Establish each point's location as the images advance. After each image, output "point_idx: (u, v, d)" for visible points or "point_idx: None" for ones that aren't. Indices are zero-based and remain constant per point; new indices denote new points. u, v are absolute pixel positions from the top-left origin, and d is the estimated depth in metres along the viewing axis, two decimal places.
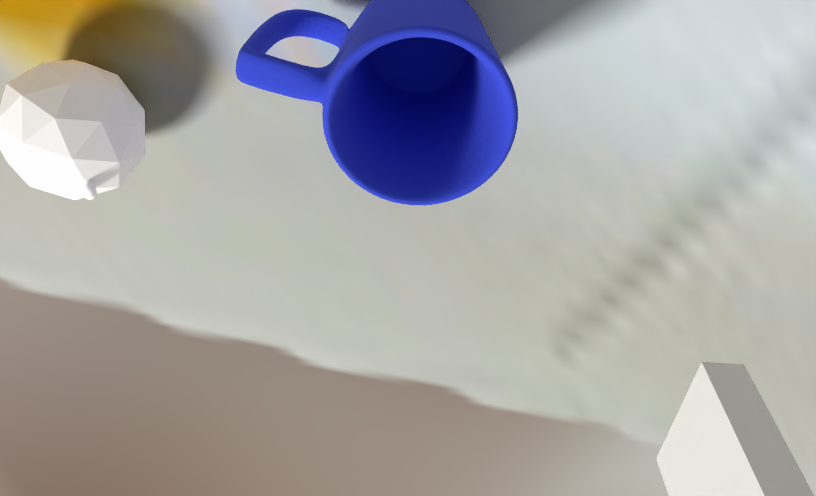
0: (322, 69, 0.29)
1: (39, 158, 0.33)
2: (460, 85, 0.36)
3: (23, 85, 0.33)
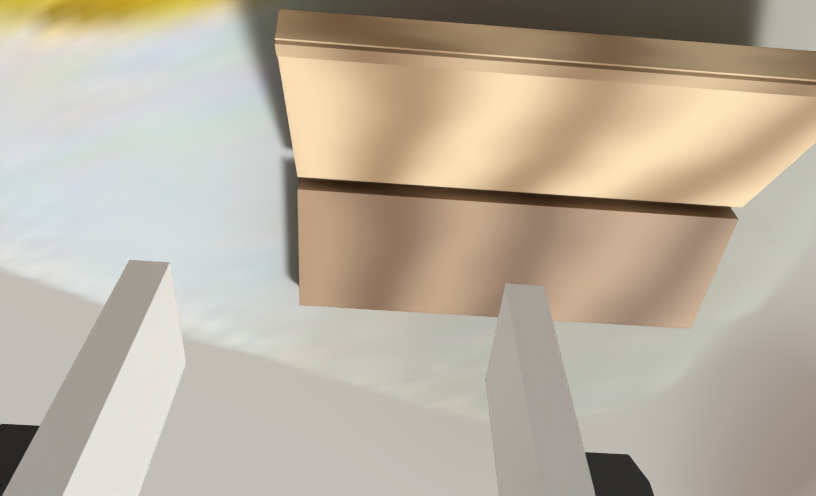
0: None
1: None
2: None
3: None
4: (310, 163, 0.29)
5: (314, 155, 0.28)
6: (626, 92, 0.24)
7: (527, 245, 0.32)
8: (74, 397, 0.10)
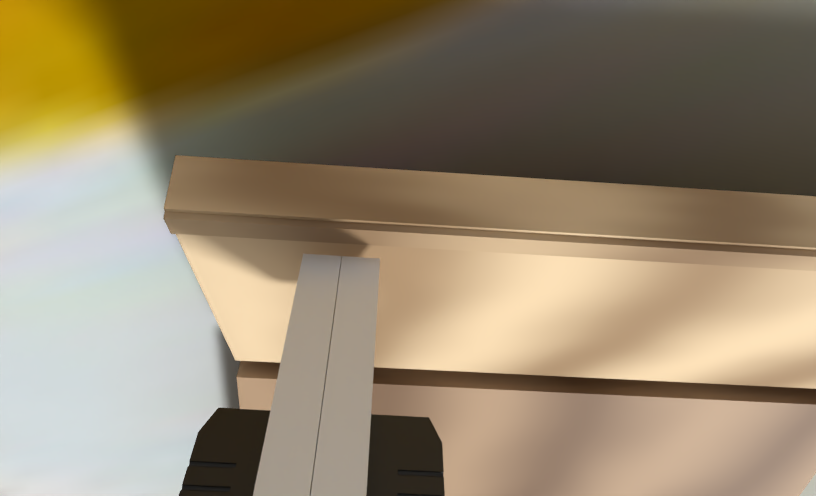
0: None
1: None
2: None
3: None
4: (251, 348, 0.20)
5: (256, 340, 0.19)
6: (748, 275, 0.15)
7: (564, 438, 0.23)
8: (294, 382, 0.11)
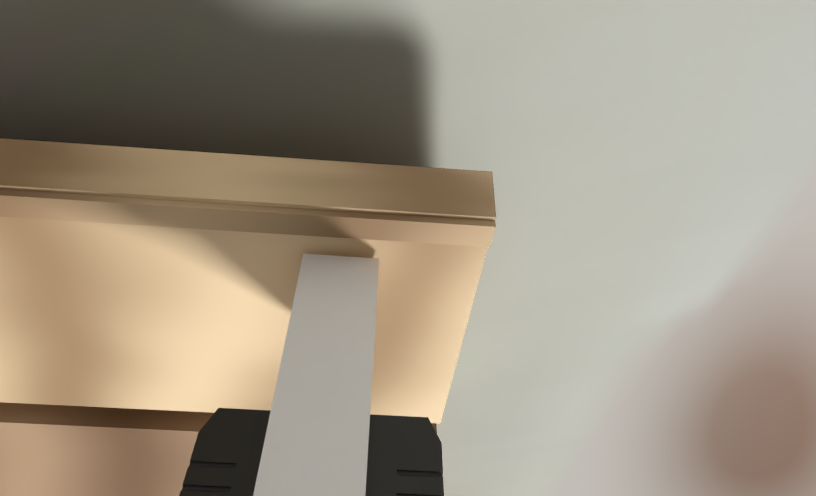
0: None
1: None
2: None
3: None
4: None
5: None
6: (73, 237, 0.13)
7: (129, 474, 0.21)
8: (294, 382, 0.11)
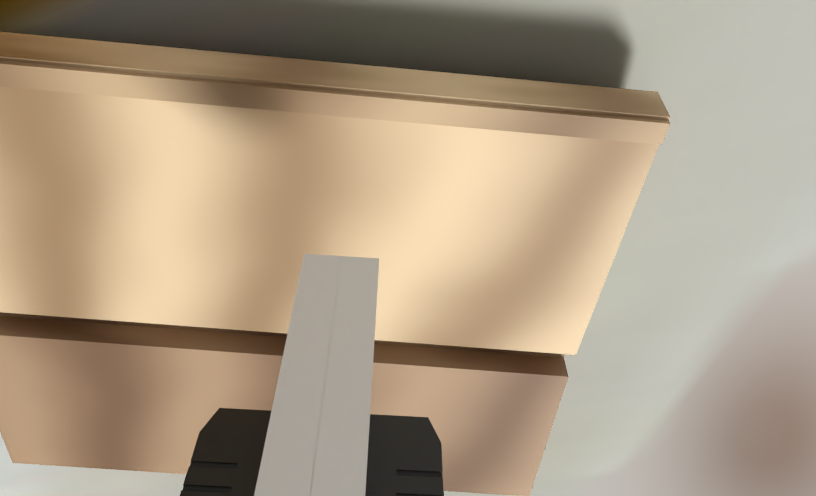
0: None
1: None
2: None
3: None
4: None
5: None
6: (331, 136, 0.17)
7: None
8: (295, 382, 0.11)
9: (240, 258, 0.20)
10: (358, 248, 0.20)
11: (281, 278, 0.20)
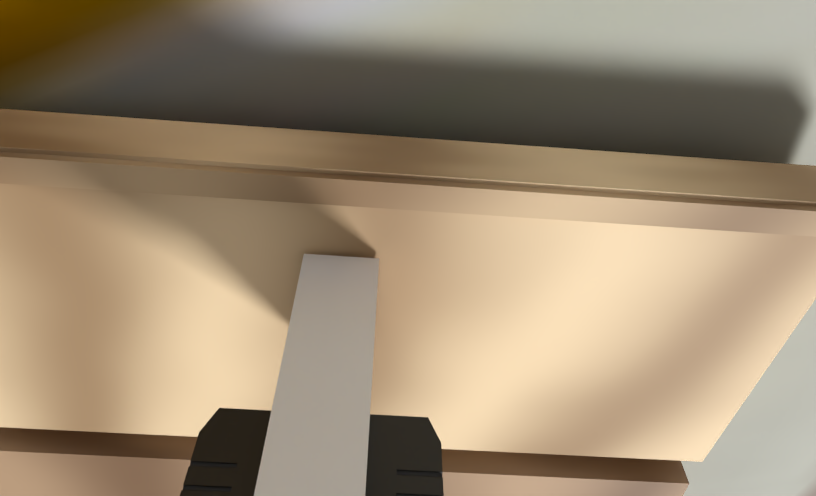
0: None
1: None
2: None
3: None
4: None
5: None
6: (437, 234, 0.13)
7: None
8: (295, 382, 0.11)
9: None
10: (455, 356, 0.16)
11: None
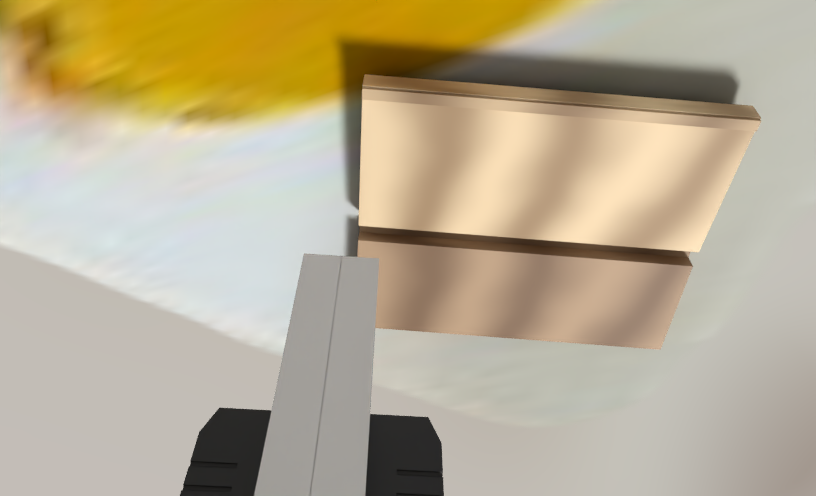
0: None
1: None
2: None
3: None
4: (369, 209, 0.39)
5: (374, 200, 0.39)
6: (593, 128, 0.35)
7: (531, 284, 0.42)
8: (295, 382, 0.11)
9: (527, 194, 0.38)
10: (591, 188, 0.38)
11: (545, 205, 0.39)
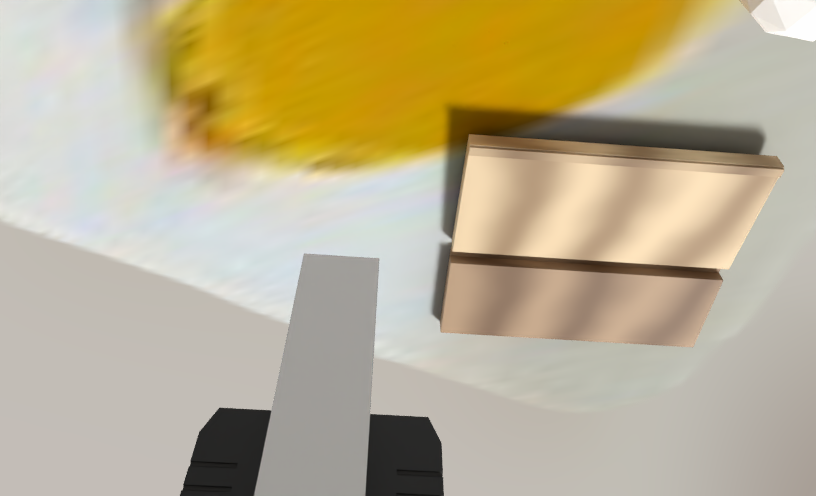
0: None
1: None
2: None
3: None
4: (463, 238, 0.48)
5: (468, 231, 0.47)
6: (651, 175, 0.44)
7: (590, 296, 0.51)
8: (295, 382, 0.11)
9: (593, 226, 0.47)
10: (646, 220, 0.47)
11: (607, 234, 0.47)
